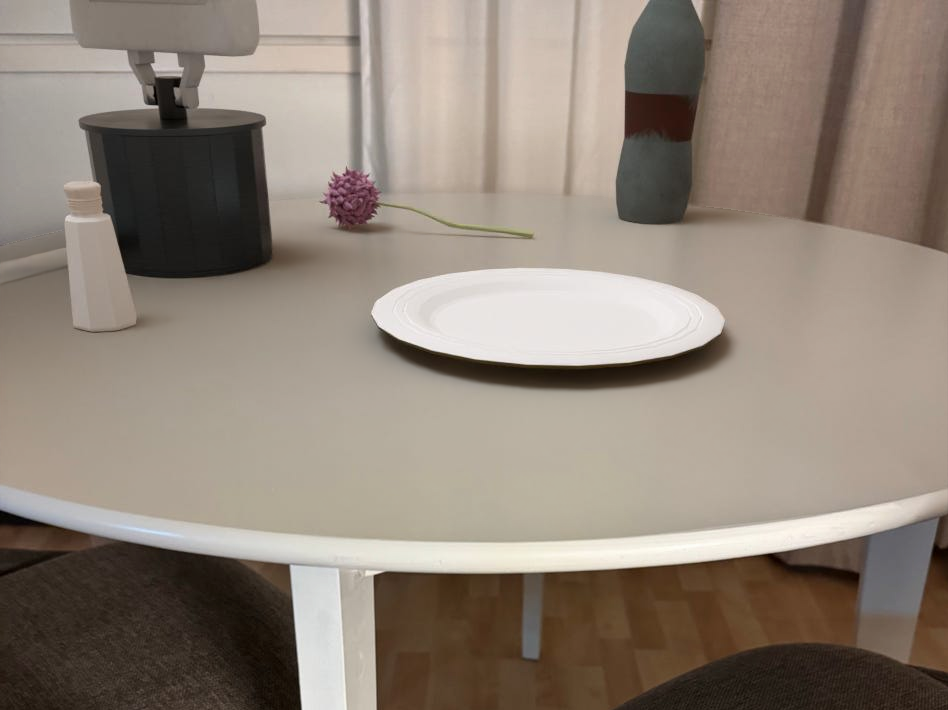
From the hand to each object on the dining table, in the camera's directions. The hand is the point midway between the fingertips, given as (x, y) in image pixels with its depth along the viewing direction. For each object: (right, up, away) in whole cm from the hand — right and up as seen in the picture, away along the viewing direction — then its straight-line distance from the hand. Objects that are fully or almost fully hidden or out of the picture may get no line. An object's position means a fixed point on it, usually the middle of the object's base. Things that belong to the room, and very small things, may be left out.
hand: (172, 106), depth 102 cm
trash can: (0, -12, +8) cm, 14 cm away
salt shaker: (-2, -25, -13) cm, 28 cm away
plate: (+35, -26, -13) cm, 46 cm away
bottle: (+51, +1, +29) cm, 58 cm away
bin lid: (0, -1, +1) cm, 2 cm away
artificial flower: (+24, -5, +20) cm, 31 cm away
